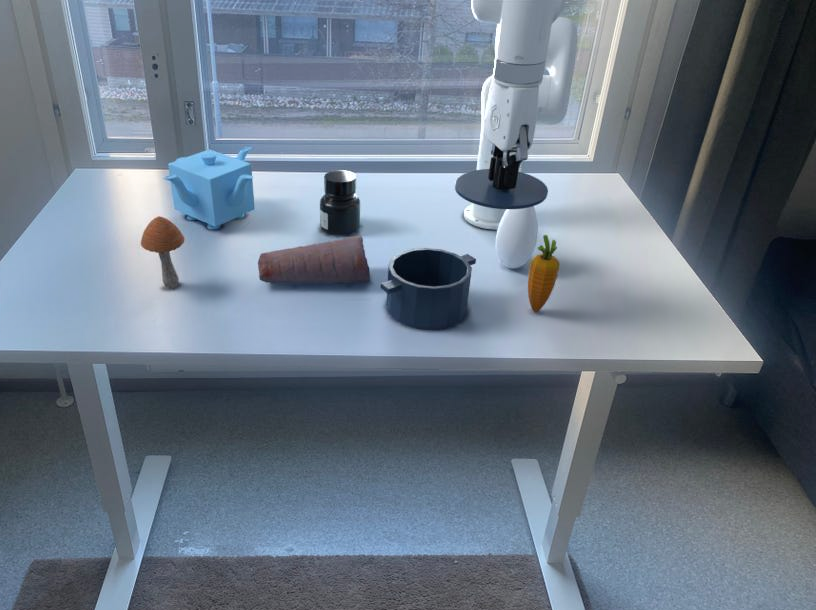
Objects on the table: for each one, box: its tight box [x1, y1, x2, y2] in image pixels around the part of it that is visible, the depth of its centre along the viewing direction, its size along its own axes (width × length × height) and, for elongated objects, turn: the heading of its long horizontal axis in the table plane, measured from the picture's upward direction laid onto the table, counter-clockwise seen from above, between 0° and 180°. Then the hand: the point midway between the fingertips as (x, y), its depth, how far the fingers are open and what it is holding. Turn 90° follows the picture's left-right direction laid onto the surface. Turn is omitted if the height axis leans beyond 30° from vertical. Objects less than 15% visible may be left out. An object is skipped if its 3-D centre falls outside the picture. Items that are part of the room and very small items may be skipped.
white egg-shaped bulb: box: [495, 206, 539, 269], centre depth 137 cm, size 8×8×18 cm
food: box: [257, 235, 371, 285], centre depth 135 cm, size 21×9×9 cm, turn 98°
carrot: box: [527, 234, 561, 314], centre depth 124 cm, size 5×5×15 cm
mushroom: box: [140, 215, 186, 290], centre depth 131 cm, size 8×8×15 cm
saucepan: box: [380, 247, 477, 331], centre depth 128 cm, size 15×20×8 cm
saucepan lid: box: [454, 155, 549, 209], centre depth 119 cm, size 16×16×6 cm
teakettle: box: [163, 146, 255, 230], centre depth 157 cm, size 19×19×15 cm
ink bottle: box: [319, 169, 361, 236], centre depth 153 cm, size 10×9×12 cm
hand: (501, 183), depth 119 cm, fingers closed on saucepan lid, 3 cm apart
